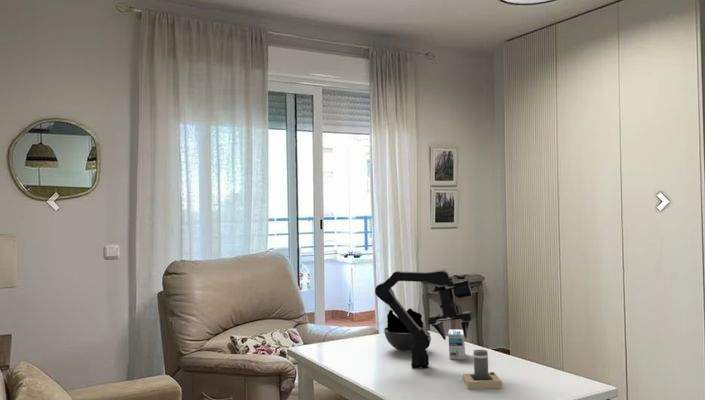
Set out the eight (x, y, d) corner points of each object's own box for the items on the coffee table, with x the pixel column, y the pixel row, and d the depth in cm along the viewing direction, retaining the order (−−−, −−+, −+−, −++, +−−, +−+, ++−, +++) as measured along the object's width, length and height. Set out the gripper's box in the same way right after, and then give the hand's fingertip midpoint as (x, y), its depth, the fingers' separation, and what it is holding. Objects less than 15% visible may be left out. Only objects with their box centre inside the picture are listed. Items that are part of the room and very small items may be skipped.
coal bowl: (435, 348, 258) (434, 307, 258) (416, 358, 241) (415, 315, 241) (397, 343, 269) (396, 304, 269) (376, 353, 252) (375, 311, 252)
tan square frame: (468, 389, 198) (467, 380, 198) (462, 380, 208) (462, 372, 208) (501, 388, 198) (501, 379, 198) (494, 379, 208) (494, 371, 208)
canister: (472, 385, 202) (471, 352, 203) (477, 381, 207) (476, 348, 207) (486, 387, 200) (484, 353, 200) (491, 383, 204) (489, 350, 204)
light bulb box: (464, 359, 237) (464, 334, 237) (448, 359, 238) (448, 334, 238) (465, 353, 247) (464, 329, 247) (449, 353, 248) (448, 328, 249)
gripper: (475, 294, 229) (483, 331, 228) (434, 299, 238) (441, 335, 237) (466, 299, 219) (474, 339, 218) (423, 304, 229) (431, 342, 228)
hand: (455, 338), depth 226 cm, fingers open, 9 cm apart
